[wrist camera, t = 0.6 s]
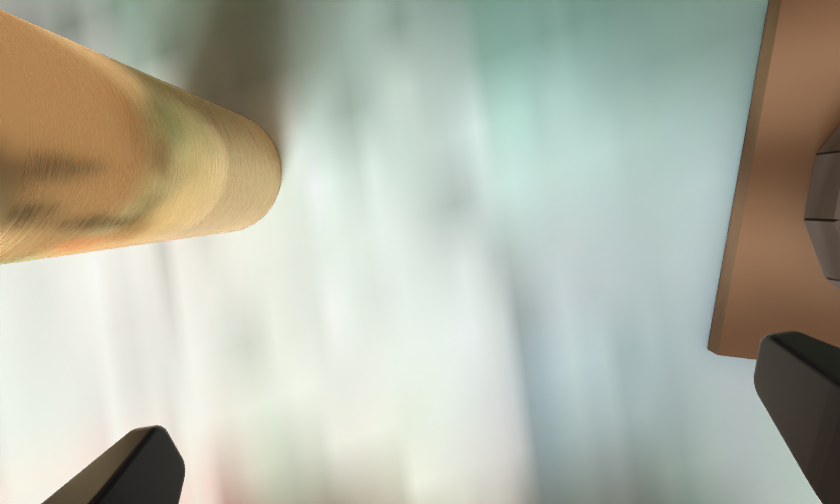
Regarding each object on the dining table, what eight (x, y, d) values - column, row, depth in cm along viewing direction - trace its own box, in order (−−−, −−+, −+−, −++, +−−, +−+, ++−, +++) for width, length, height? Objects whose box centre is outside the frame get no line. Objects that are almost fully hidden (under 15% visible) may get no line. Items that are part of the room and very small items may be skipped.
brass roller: (276, 238, 21) (21, 294, 8) (160, 224, 21) (-268, 259, 8) (286, 118, 21) (32, -21, 8) (167, 105, 21) (-276, -53, 8)
